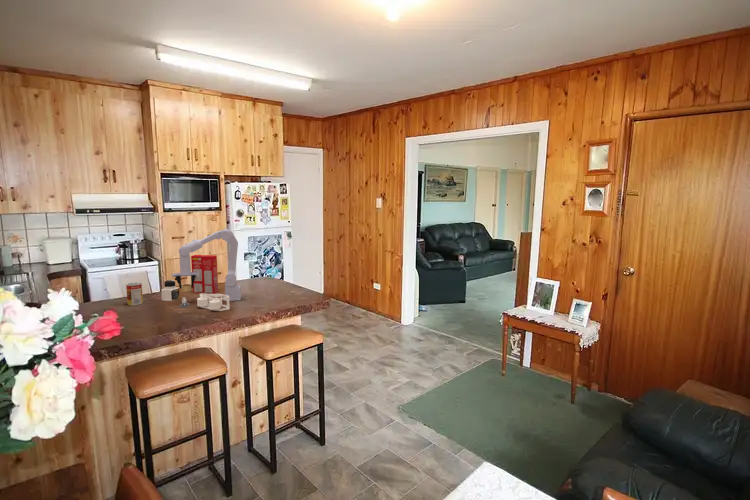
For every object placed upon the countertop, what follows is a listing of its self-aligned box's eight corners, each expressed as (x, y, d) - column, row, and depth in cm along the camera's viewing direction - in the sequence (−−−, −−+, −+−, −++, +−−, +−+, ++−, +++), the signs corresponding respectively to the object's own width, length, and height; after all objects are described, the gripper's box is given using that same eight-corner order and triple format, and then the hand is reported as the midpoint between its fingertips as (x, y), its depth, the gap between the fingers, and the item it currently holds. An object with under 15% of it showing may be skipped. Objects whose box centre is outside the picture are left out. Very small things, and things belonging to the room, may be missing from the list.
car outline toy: (193, 307, 233) (192, 295, 232) (209, 303, 242) (209, 291, 241) (216, 313, 223) (216, 300, 222) (232, 308, 233) (232, 296, 231)
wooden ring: (192, 289, 246) (191, 283, 245) (191, 291, 240) (191, 285, 240) (182, 289, 244) (181, 284, 243) (180, 291, 238) (180, 286, 238)
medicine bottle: (171, 301, 245) (170, 282, 244) (161, 300, 247) (160, 281, 245) (179, 298, 252) (178, 279, 251) (169, 297, 254) (168, 279, 252)
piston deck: (189, 304, 240) (189, 296, 239) (188, 306, 234) (188, 298, 233) (180, 304, 238) (180, 296, 237) (179, 307, 232) (178, 299, 232)
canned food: (139, 301, 245) (137, 281, 243) (145, 303, 240) (144, 283, 239) (125, 303, 239) (123, 284, 237) (131, 306, 234) (129, 286, 232)
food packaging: (218, 292, 269) (216, 255, 266) (214, 294, 264) (212, 256, 260) (197, 291, 271) (195, 254, 267) (193, 293, 265) (191, 255, 262)
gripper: (199, 264, 246) (200, 285, 248) (172, 265, 241) (174, 287, 243) (198, 266, 239) (199, 288, 241) (171, 267, 235) (172, 290, 237)
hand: (186, 288), depth 242 cm, fingers closed on wooden ring, 6 cm apart
